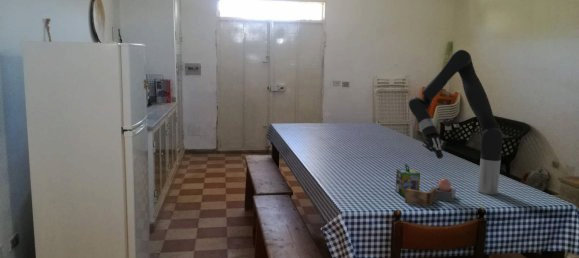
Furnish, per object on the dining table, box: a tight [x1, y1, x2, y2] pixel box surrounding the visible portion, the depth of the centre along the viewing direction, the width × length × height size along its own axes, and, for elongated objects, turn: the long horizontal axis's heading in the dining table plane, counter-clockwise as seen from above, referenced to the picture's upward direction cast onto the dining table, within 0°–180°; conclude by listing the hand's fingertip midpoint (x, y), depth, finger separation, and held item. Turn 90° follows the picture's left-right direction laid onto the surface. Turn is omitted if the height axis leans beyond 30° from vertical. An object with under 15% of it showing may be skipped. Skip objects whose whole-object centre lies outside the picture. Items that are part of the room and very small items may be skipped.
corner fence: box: [404, 187, 436, 207], centre depth 201 cm, size 11×11×6 cm
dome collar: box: [434, 185, 457, 202], centre depth 207 cm, size 9×9×4 cm
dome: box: [437, 178, 452, 192], centre depth 206 cm, size 6×6×6 cm
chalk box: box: [395, 163, 421, 197], centre depth 212 cm, size 9×9×15 cm
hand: (440, 157), depth 209 cm, fingers closed
